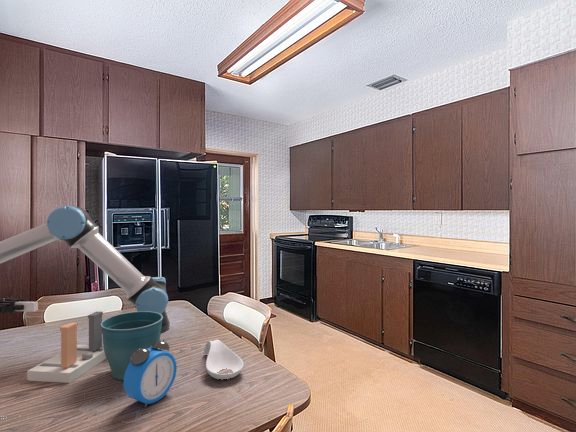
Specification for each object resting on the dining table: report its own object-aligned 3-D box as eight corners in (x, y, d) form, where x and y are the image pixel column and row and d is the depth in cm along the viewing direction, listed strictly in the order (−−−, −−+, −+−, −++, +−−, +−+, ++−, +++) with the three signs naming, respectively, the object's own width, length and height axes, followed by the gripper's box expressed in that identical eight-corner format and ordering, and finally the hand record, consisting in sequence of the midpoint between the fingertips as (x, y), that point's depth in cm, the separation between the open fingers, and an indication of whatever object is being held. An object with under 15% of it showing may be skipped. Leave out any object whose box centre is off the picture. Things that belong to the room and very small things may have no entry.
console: (111, 354, 117) (112, 342, 117) (70, 382, 97) (70, 367, 97) (75, 352, 118) (75, 340, 118) (27, 380, 98) (27, 365, 98)
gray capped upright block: (102, 346, 115) (102, 311, 115) (94, 351, 111) (94, 315, 111) (96, 346, 116) (96, 311, 116) (87, 351, 111) (87, 315, 111)
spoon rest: (249, 379, 100) (249, 356, 100) (212, 389, 94) (212, 365, 94) (224, 351, 121) (224, 332, 121) (192, 358, 115) (192, 338, 115)
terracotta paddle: (77, 361, 104) (77, 322, 104) (67, 368, 99) (67, 327, 99) (70, 361, 104) (70, 322, 104) (59, 367, 99) (60, 327, 99)
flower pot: (172, 371, 104) (172, 319, 104) (111, 393, 91) (111, 333, 91) (149, 354, 117) (149, 308, 117) (93, 371, 104) (93, 319, 104)
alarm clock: (137, 415, 82) (137, 356, 82) (121, 408, 85) (122, 351, 85) (177, 390, 93) (177, 338, 93) (162, 385, 96) (162, 334, 96)
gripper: (-12, 311, 111) (52, 312, 109) (-55, 324, 98) (17, 325, 96) (-12, 289, 111) (52, 289, 109) (-56, 299, 98) (16, 300, 96)
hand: (35, 306), depth 102 cm, fingers closed
